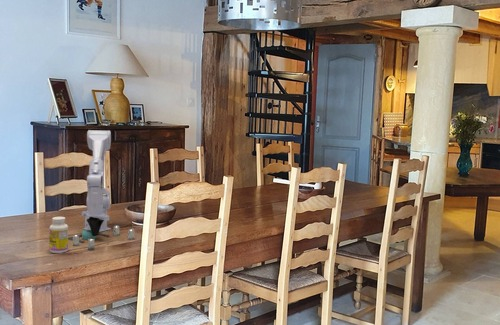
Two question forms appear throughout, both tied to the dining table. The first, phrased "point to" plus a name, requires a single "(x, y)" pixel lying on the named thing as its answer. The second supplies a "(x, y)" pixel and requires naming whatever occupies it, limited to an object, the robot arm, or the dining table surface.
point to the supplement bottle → (58, 235)
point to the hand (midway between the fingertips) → (95, 235)
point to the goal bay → (83, 241)
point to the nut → (87, 234)
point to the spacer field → (92, 241)
